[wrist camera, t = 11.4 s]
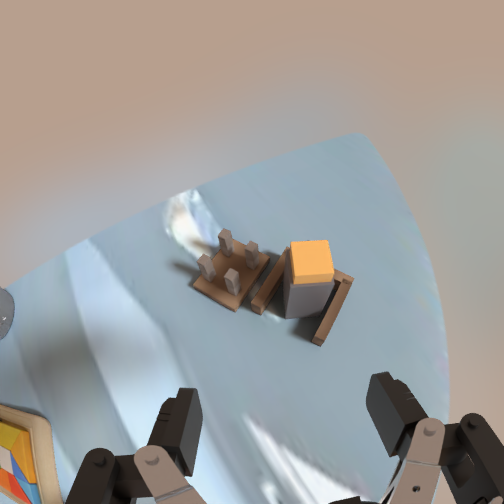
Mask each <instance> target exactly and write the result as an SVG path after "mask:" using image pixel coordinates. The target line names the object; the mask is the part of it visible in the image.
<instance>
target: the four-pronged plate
mask: <svg viewBox="0 0 504 504" xmlns="http://www.w3.org/2000/svg"><path fill="white" fill-rule="evenodd" d="M218 238H219V242H220V246H221V249H220V250H219V252H218V253H217V254H216V255H215V257H214V258H213V259H212V260H211V257H209V256H207V255H205V254H203V255H202V256H201V257H200V258H199V260H198V261H197V263H198V266H199V268H200V270H201V273H202V274H201V275H200V276H199V278H198V279H197V280H196V282H195V283H194V284H193V286H194V288H195V289H196V290H198V291H200V292H201V293H203V294H205V295H206V296H208V297H210V298H211V299H213V300H215V301H217V302H218V303H220V304H222V305H223V306H225V307H227V308H229V309H230V310H232V311H234V312H236V311H237V309H238V308H239V306H240V305H241V303H242V302H243V300H244V299H245V297H246V296H247V294H248V293H249V291H250V290H251V288H252V287H253V285H254V284H255V282H256V281H257V279H258V278H259V276H260V275H261V273H262V272H263V270H264V269H265V267H266V266H267V264H268V263H269V261H270V257H269V256H267V255H265V254H263V253H261V252H259V251H258V244H256V243H254V242H252V241H250V242H249V243H248V244H247V246H246V245H244V244H242V243H240V242H238V241H236V240H234V239H232V235H231V231H229V230H226V229H224V228H223V230H222V231H221V232H220V233H219V235H218Z"/></svg>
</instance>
